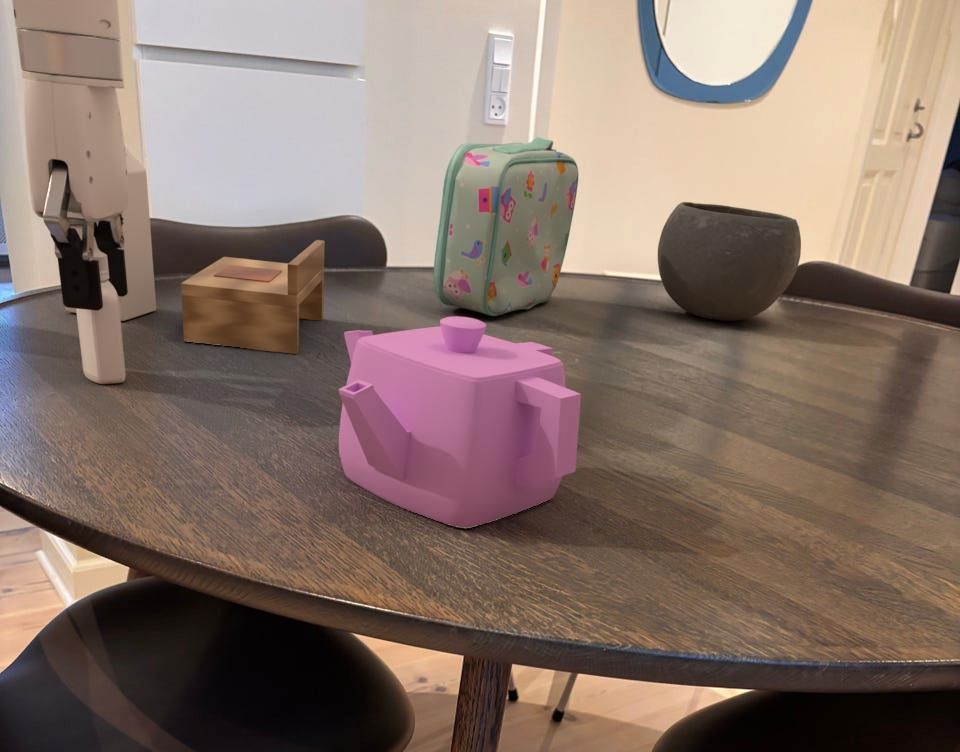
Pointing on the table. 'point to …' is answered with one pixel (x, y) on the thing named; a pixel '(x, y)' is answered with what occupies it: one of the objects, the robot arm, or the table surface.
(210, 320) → the wooden toy chair
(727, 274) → the bowl
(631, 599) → the table surface
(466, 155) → the lunch box
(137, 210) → the milk carton
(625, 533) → the table surface
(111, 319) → the eye dropper bottle
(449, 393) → the teakettle
